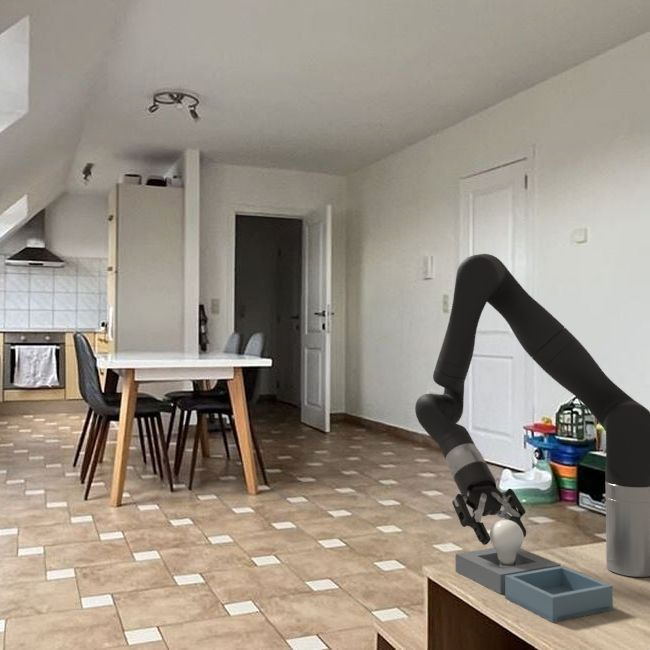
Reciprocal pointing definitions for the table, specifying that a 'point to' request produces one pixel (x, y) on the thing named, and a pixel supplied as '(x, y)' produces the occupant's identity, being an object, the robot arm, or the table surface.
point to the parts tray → (558, 593)
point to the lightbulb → (506, 541)
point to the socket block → (497, 567)
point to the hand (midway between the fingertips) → (505, 540)
